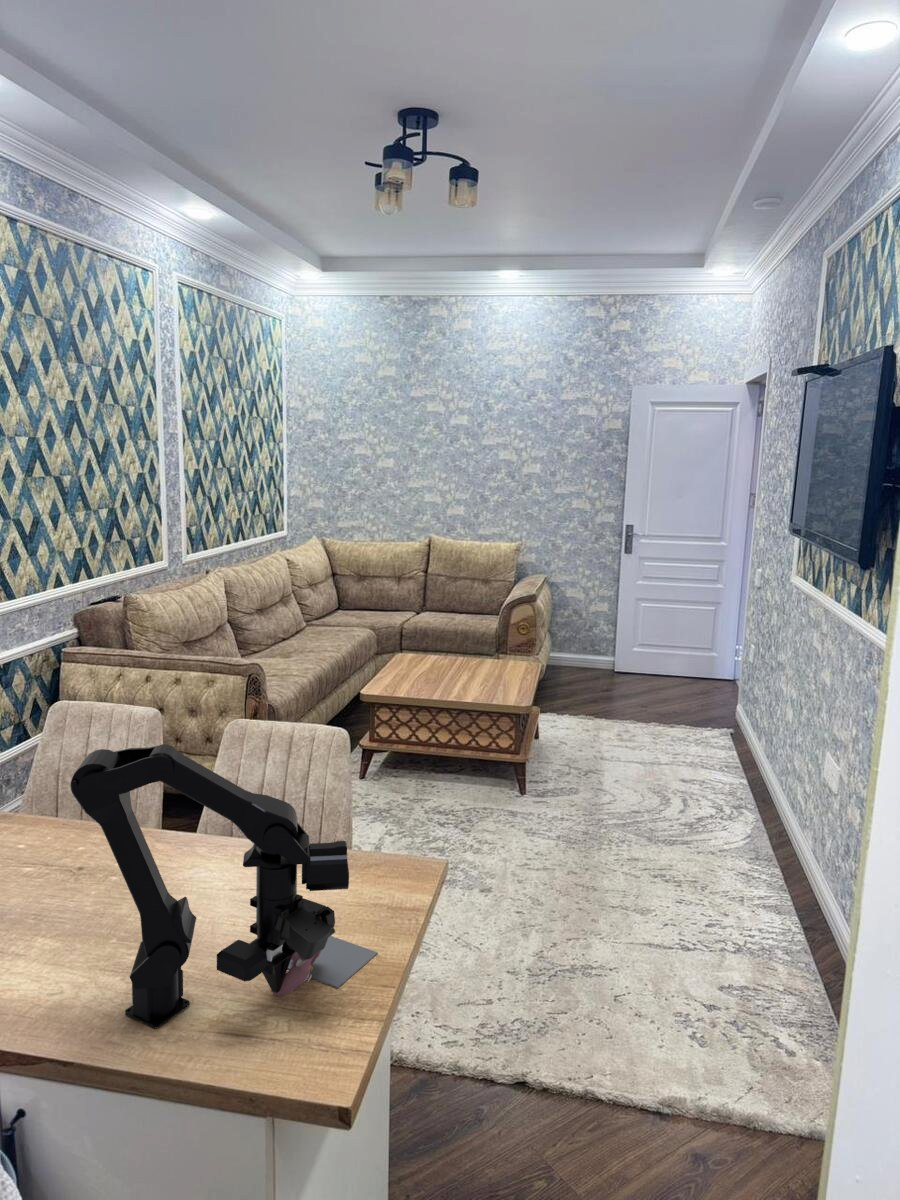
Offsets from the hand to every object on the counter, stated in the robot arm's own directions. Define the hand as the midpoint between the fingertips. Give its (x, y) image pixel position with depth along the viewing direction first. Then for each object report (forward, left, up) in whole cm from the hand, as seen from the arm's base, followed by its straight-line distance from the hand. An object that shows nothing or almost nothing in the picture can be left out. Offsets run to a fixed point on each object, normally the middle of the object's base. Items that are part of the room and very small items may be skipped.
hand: (275, 991), depth 124 cm
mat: (+13, +1, -2) cm, 13 cm away
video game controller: (+6, 0, -2) cm, 6 cm away
